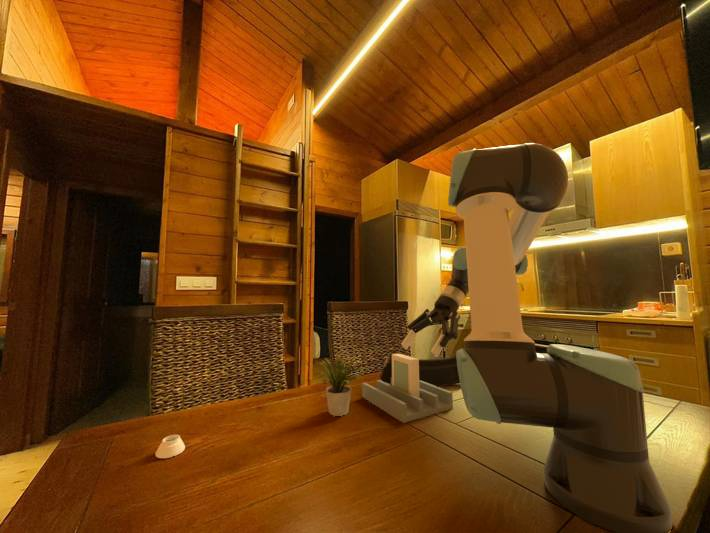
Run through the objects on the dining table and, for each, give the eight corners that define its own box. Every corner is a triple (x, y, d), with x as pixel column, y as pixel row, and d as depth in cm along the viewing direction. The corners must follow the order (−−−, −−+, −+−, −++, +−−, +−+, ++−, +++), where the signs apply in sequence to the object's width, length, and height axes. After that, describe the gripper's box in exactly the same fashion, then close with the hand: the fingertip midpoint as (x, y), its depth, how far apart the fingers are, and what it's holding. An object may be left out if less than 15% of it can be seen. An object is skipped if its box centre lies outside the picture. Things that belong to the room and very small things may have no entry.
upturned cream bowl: (174, 444, 61) (149, 456, 57) (175, 430, 62) (151, 441, 57) (190, 450, 59) (165, 463, 55) (190, 435, 60) (166, 446, 55)
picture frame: (399, 392, 89) (399, 353, 90) (419, 401, 81) (418, 359, 83) (391, 394, 88) (391, 354, 89) (411, 403, 80) (410, 360, 81)
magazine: (468, 358, 104) (391, 334, 103) (472, 360, 101) (392, 336, 100) (456, 404, 102) (377, 381, 101) (460, 408, 99) (379, 384, 98)
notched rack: (406, 388, 97) (406, 374, 98) (452, 408, 80) (452, 392, 81) (362, 397, 88) (362, 383, 89) (403, 423, 71) (403, 404, 72)
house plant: (339, 432, 66) (339, 361, 68) (299, 417, 75) (300, 353, 76) (373, 412, 78) (372, 351, 79) (335, 400, 86) (335, 346, 88)
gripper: (486, 311, 89) (456, 366, 80) (428, 308, 110) (399, 351, 101) (475, 294, 87) (442, 349, 78) (418, 294, 108) (387, 337, 99)
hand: (417, 350), depth 89 cm, fingers open, 13 cm apart
